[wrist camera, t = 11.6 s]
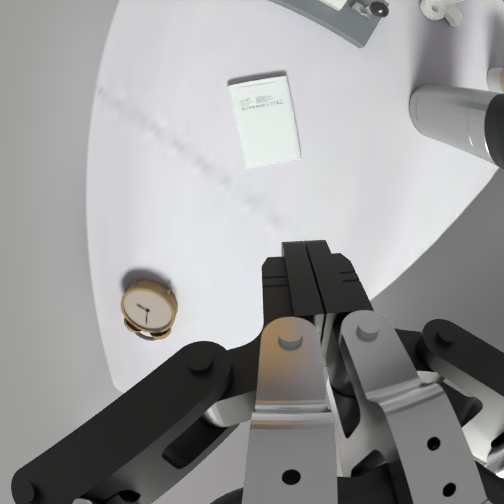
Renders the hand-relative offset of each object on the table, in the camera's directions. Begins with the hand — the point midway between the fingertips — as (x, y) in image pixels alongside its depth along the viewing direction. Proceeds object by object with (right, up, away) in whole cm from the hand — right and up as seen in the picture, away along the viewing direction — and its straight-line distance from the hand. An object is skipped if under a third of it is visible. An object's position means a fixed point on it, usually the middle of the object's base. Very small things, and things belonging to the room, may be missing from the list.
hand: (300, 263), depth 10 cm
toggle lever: (+13, +33, +13) cm, 38 cm away
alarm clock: (-23, -11, +44) cm, 50 cm away
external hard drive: (0, +19, +26) cm, 32 cm away
